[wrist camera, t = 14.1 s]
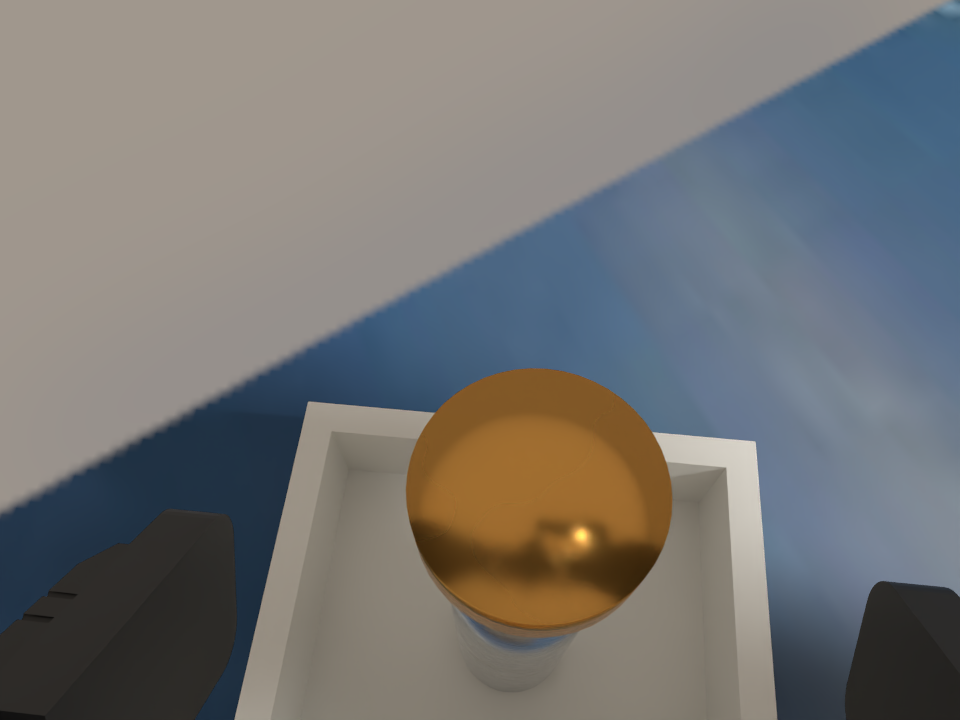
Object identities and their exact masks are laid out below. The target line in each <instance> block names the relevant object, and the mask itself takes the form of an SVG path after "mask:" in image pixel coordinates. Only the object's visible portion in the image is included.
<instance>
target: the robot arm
mask: <svg viewBox="0 0 960 720" xmlns="http://www.w3.org/2000/svg"><path fill="white" fill-rule="evenodd" d="M236 626H237V608H236V581H235V554H234V531H233V525H232V522H231V519H230V518H229V516H228V515H226V514H218V513H208V512H198V511H188V510H178V509H167V510H165V511H163V512H162V513H161V514H160V515H159V516H158V517H157V518H156V519H155V520H154V521H153V522H152V523H151V524H150V525H148V526H147V527H146V528H145V529H144V530H143V531H142V532H141V533H140V534H139V535H138V536H137V537H136V538H135V539H134V540H133V541H132V542H131V543H130V544H120V543H118V544H116V545H114V546H112V547H110V548H108V549H106V550H105V551H103V552H101V553H99V554H97V555H95V556H93V557H91V558H89V559H87V560H85V561H83V562H81V563H79V564H78V565H76V566H75V567H74V568H73V569H72V570H71V571H70V572H69V573H68V574H67V575H65V576H64V577H63V578H62V579H61V580H60V581H59V582H58V583H57V584H56V585H54V586H53V587H52V588H51V589H50V590H49V593H48V596H47V597H45V596H42V597H41V598H40V599H39V600H38V601H37V602H36V603H35V604H34V605H33V606H31V607H30V608H29V609H28V610H27V611H26V612H25V613H24V615H23V619H22V620H16V621H15V622H14V623H13V624H12V625H11V626H9V627H8V628H7V629H6V630H5V631H4V632H3V633H2V634H1V635H0V720H195V718H196V716H197V715H198V713H199V711H200V710H201V708H202V706H203V705H204V703H205V701H206V700H207V698H208V697H209V695H210V693H211V692H212V690H213V688H214V687H215V685H216V683H217V682H218V680H219V678H220V677H221V675H222V673H223V672H224V670H225V668H226V666H227V663H228V661H229V658H230V655H231V652H232V649H233V644H234V640H235V634H236ZM845 712H846V720H960V597H959V596H958V595H957V594H956V593H955V592H954V591H952V590H951V589H949V588H945V587H937V586H927V585H917V584H906V583H896V582H886V581H881V582H878V583H877V584H876V585H874V587H873V588H872V590H871V592H870V594H869V597H868V600H867V604H866V608H865V612H864V616H863V620H862V625H861V629H860V633H859V637H858V641H857V645H856V649H855V653H854V657H853V662H852V666H851V670H850V674H849V678H848V682H847V687H846V695H845Z"/></svg>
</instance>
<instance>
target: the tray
mask: <svg viewBox="0 0 960 720" xmlns="http://www.w3.org/2000/svg"><path fill="white" fill-rule="evenodd" d="M434 414H435V413H431V412H419V411H408V410H397V409H386V408H375V407H364V406H353V405H341V404H330V403H319V402H308V405H307V409H306V413H305V418H304V422H303V426H302V431H301V435H300V439H299V444H298V448H297V452H296V457H295V461H294V465H293V469H292V474H291V478H290V482H289V487H288V491H287V495H286V500H285V504H284V508H283V513H282V517H281V521H280V526H279V530H278V534H277V538H276V543H275V547H274V551H273V556H272V560H271V564H270V569H269V573H268V577H267V582H266V586H265V590H264V594H263V599H262V603H261V607H260V612H259V616H258V620H257V625H256V629H255V633H254V638H253V642H252V646H251V650H250V655H249V659H248V663H247V668H246V672H245V676H244V681H243V685H242V689H241V694H240V698H239V702H238V707H237V711H236V715H235V719H234V720H777V709H776V696H775V684H774V671H773V658H772V645H771V633H770V620H769V607H768V594H767V581H766V569H765V556H764V543H763V530H762V518H761V505H760V492H759V479H758V467H757V454H756V442H754V441H742V440H731V439H720V438H709V437H698V436H687V435H676V434H664V433H653V432H652V433H653V434H654V436H655V438H656V440H657V442H658V444H659V446H660V448H661V449H662V452H663V455H664V457H665V460H666V463H667V466H668V470H669V474H670V479H671V486H672V497H673V501H672V517H671V522H670V528H669V532H668V535H667V538H666V541H665V544H664V547H663V549H662V551H661V553H660V555H659V557H658V559H657V561H656V563H655V565H654V566H653V568H652V569H651V570H650V572H649V573H648V575H647V576H646V577H645V579H644V580H643V581H642V582H641V584H640V585H639V586H638V587H637V588H636V590H635V591H634V592H633V593H632V595H631V596H630V597H629V598H628V599H627V600H626V601H625V602H624V603H623V604H622V605H621V606H620V607H619V608H618V609H617V610H615V611H614V612H613V613H611V614H610V615H609V616H608V617H606V618H605V619H603V620H601V621H599V622H598V623H596V624H594V625H592V626H590V627H588V628H585V629H583V630H580V631H579V632H578V634H577V635H576V637H575V638H574V640H573V641H572V643H571V644H570V646H569V647H568V649H567V650H566V652H565V653H564V655H563V656H562V658H561V659H560V661H559V662H558V664H557V665H556V667H555V668H554V670H553V671H552V672H551V674H550V675H549V676H548V677H547V678H546V679H545V680H544V681H543V682H541V683H540V684H539V685H537V686H535V687H533V688H531V689H528V690H525V691H521V692H503V691H498V690H495V689H492V688H490V687H488V686H486V685H485V684H483V683H482V682H480V681H479V680H478V679H477V678H476V677H475V676H474V675H473V674H472V673H471V671H470V670H469V668H468V667H467V665H466V663H465V661H464V659H463V656H462V654H461V650H460V645H459V640H458V635H457V630H456V626H455V621H454V616H453V611H452V606H451V602H450V601H449V600H448V599H447V598H446V597H445V596H444V595H443V594H442V593H441V591H440V590H439V589H438V588H437V586H436V585H435V583H434V582H433V580H432V579H431V577H430V576H429V574H428V572H427V570H426V568H425V566H424V564H423V562H422V560H421V557H420V554H419V551H418V548H417V545H416V542H415V539H414V536H413V532H412V529H411V526H410V522H409V517H408V511H407V505H406V481H407V472H408V467H409V463H410V458H411V455H412V453H413V450H414V447H415V445H416V442H417V440H418V438H419V436H420V435H421V433H422V431H423V429H424V427H425V426H426V424H427V423H428V422H429V420H430V419H431V417H432V416H433V415H434Z"/></svg>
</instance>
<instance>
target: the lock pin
mask: <svg viewBox="0 0 960 720" xmlns="http://www.w3.org/2000/svg"><path fill="white" fill-rule="evenodd" d="M672 501H673V497H672V486H671V479H670V474H669V470H668V466H667V463H666V460H665V457H664V455H663V452H662V449H661V448H660V446H659V444H658V442H657V440H656V438H655V436H654V434H653V433H652V431H651V430H650V429H649V427H648V426H647V424H646V423H645V421H644V420H643V419H642V418H641V417H640V416H639V415H638V414H637V412H636V411H635V410H634V409H633V408H632V407H631V406H629V405H628V404H627V403H626V402H625V401H624V400H623V399H621V398H620V397H619V396H617V395H616V394H614V393H613V392H611V391H610V390H609V389H607V388H605V387H603V386H601V385H599V384H597V383H596V382H594V381H591V380H589V379H586V378H584V377H581V376H579V375H575V374H571V373H567V372H564V371H558V370H551V369H533V368H530V369H518V370H511V371H506V372H502V373H498V374H495V375H492V376H489V377H486V378H483V379H481V380H479V381H477V382H475V383H473V384H470V385H469V386H467V387H466V388H464V389H462V390H461V391H459V392H458V393H456V394H455V395H454V396H452V397H451V398H450V399H449V400H448V401H446V402H445V403H444V404H443V405H442V406H441V407H440V408H439V409H438V411H437V412H436V413H435V414H434V415H433V416H432V417H431V419H430V420H429V422H428V423H427V424H426V426H425V427H424V429H423V431H422V433H421V435H420V436H419V438H418V440H417V442H416V445H415V447H414V450H413V453H412V455H411V458H410V463H409V467H408V472H407V481H406V505H407V511H408V517H409V522H410V526H411V529H412V532H413V536H414V539H415V542H416V545H417V548H418V551H419V554H420V557H421V560H422V562H423V564H424V566H425V568H426V570H427V572H428V574H429V576H430V577H431V579H432V580H433V582H434V583H435V585H436V586H437V588H438V589H439V590H440V591H441V593H442V594H443V595H444V596H445V597H446V598H447V599H448V600H449V601H450V602H451V606H452V611H453V616H454V621H455V626H456V630H457V635H458V640H459V645H460V650H461V654H462V656H463V659H464V661H465V663H466V665H467V667H468V668H469V670H470V671H471V673H472V674H473V675H474V676H475V677H476V678H477V679H478V680H479V681H480V682H482V683H483V684H485V685H486V686H488V687H490V688H492V689H495V690H498V691H503V692H521V691H525V690H528V689H531V688H533V687H535V686H537V685H539V684H540V683H541V682H543V681H544V680H545V679H546V678H547V677H548V676H549V675H550V674H551V672H552V671H553V670H554V668H555V667H556V665H557V664H558V662H559V661H560V659H561V658H562V656H563V655H564V653H565V652H566V650H567V649H568V647H569V646H570V644H571V643H572V641H573V640H574V638H575V637H576V635H577V634H578V632H579V631H580V630H583V629H585V628H588V627H590V626H592V625H594V624H596V623H598V622H599V621H601V620H603V619H605V618H606V617H608V616H609V615H610V614H611V613H613V612H614V611H615V610H617V609H618V608H619V607H620V606H621V605H622V604H623V603H624V602H625V601H626V600H627V599H628V598H629V597H630V596H631V595H632V593H633V592H634V591H635V590H636V588H637V587H638V586H639V585H640V584H641V582H642V581H643V580H644V579H645V577H646V576H647V575H648V573H649V572H650V570H651V569H652V568H653V566H654V565H655V563H656V561H657V559H658V557H659V555H660V553H661V551H662V549H663V547H664V544H665V541H666V538H667V535H668V532H669V528H670V522H671V517H672Z"/></svg>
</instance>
